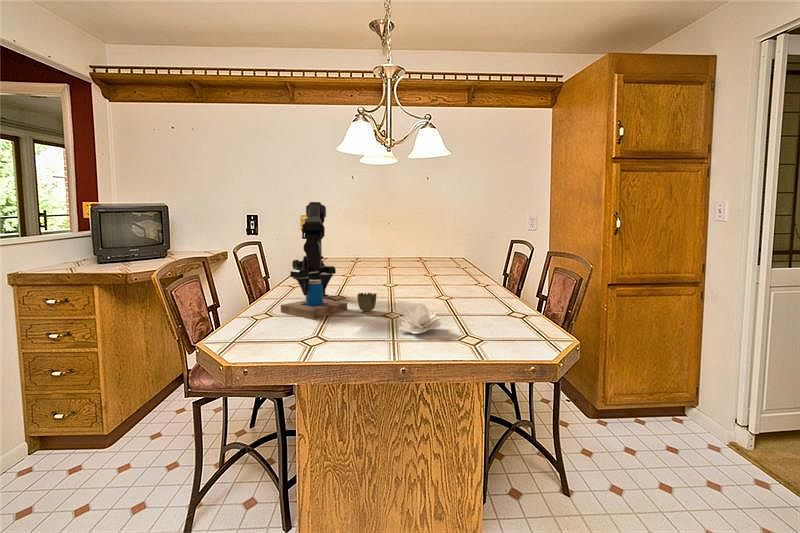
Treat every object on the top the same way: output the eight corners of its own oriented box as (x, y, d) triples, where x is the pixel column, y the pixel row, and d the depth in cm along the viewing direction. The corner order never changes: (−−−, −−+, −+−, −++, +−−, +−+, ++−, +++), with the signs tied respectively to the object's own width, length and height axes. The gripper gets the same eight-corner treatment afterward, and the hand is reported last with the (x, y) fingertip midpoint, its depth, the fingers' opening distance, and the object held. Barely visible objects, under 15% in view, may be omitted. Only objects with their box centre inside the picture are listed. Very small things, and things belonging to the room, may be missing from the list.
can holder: (315, 306, 185) (315, 298, 184) (347, 311, 174) (347, 303, 174) (280, 313, 170) (280, 304, 170) (313, 320, 160) (313, 310, 159)
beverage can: (321, 314, 169) (321, 283, 168) (304, 314, 169) (303, 283, 168) (324, 311, 175) (323, 281, 174) (307, 311, 175) (307, 281, 174)
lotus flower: (391, 333, 141) (391, 306, 141) (406, 323, 156) (406, 298, 155) (435, 337, 137) (435, 309, 136) (446, 326, 151) (446, 301, 150)
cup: (373, 316, 165) (373, 295, 164) (354, 315, 167) (354, 295, 166) (378, 312, 173) (378, 292, 172) (360, 311, 174) (360, 291, 173)
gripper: (316, 251, 182) (317, 288, 184) (280, 254, 167) (281, 295, 168) (336, 252, 175) (336, 291, 177) (300, 255, 160) (301, 298, 162)
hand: (314, 293), depth 171 cm, fingers open, 9 cm apart
